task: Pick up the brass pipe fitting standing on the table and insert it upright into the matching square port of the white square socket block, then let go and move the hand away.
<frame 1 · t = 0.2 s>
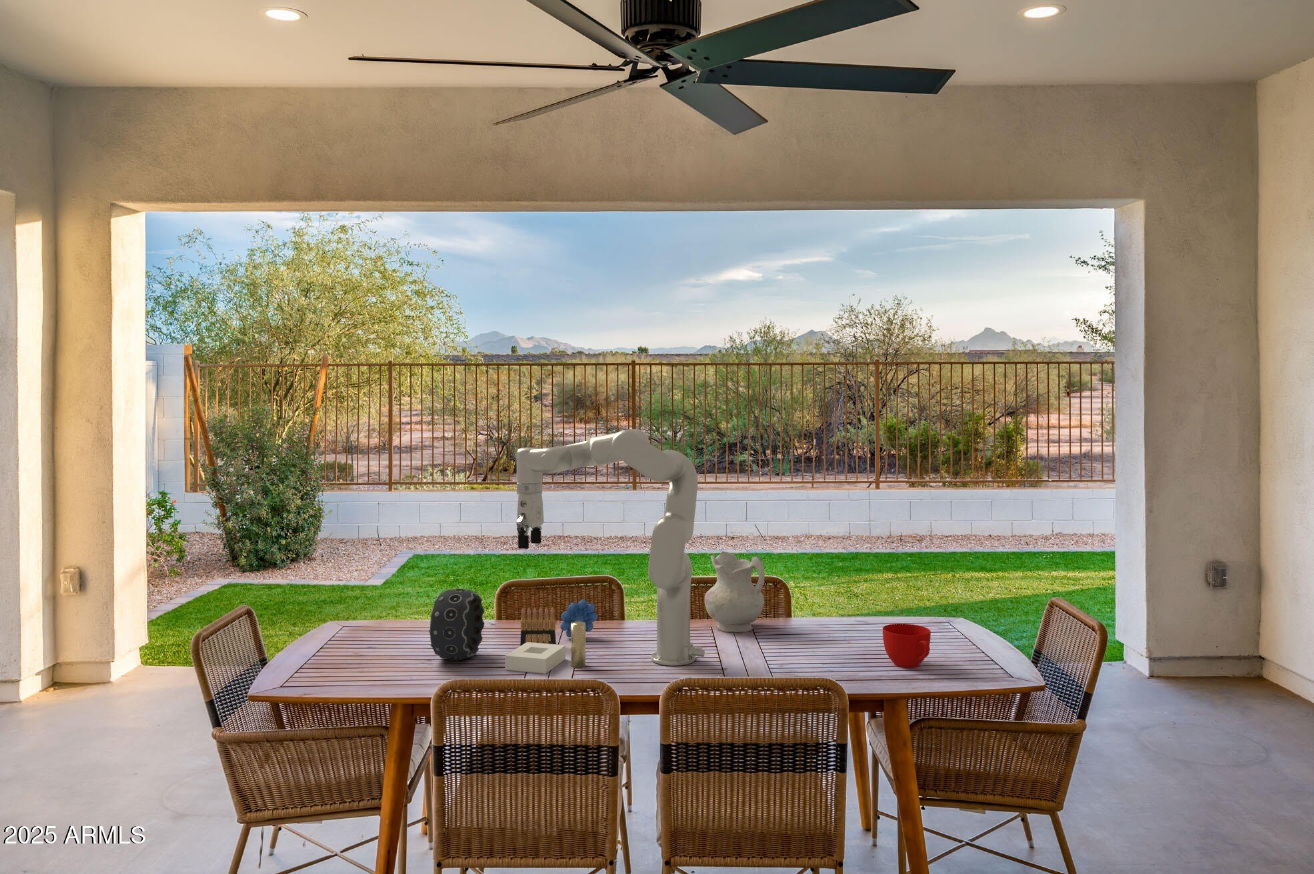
hand: (529, 546, 256), 31 cm above the table, fingers open, 9 cm apart
dark grey toy tire: (458, 659, 246), on the table
ammunition clip: (538, 647, 259), on the table
ceramic pitcher: (737, 629, 279), on the table
ceramic cup: (910, 667, 238), on the table
brass fitting: (578, 665, 239), on the table
grapes: (578, 637, 269), on the table
white square socket block: (536, 664, 240), on the table
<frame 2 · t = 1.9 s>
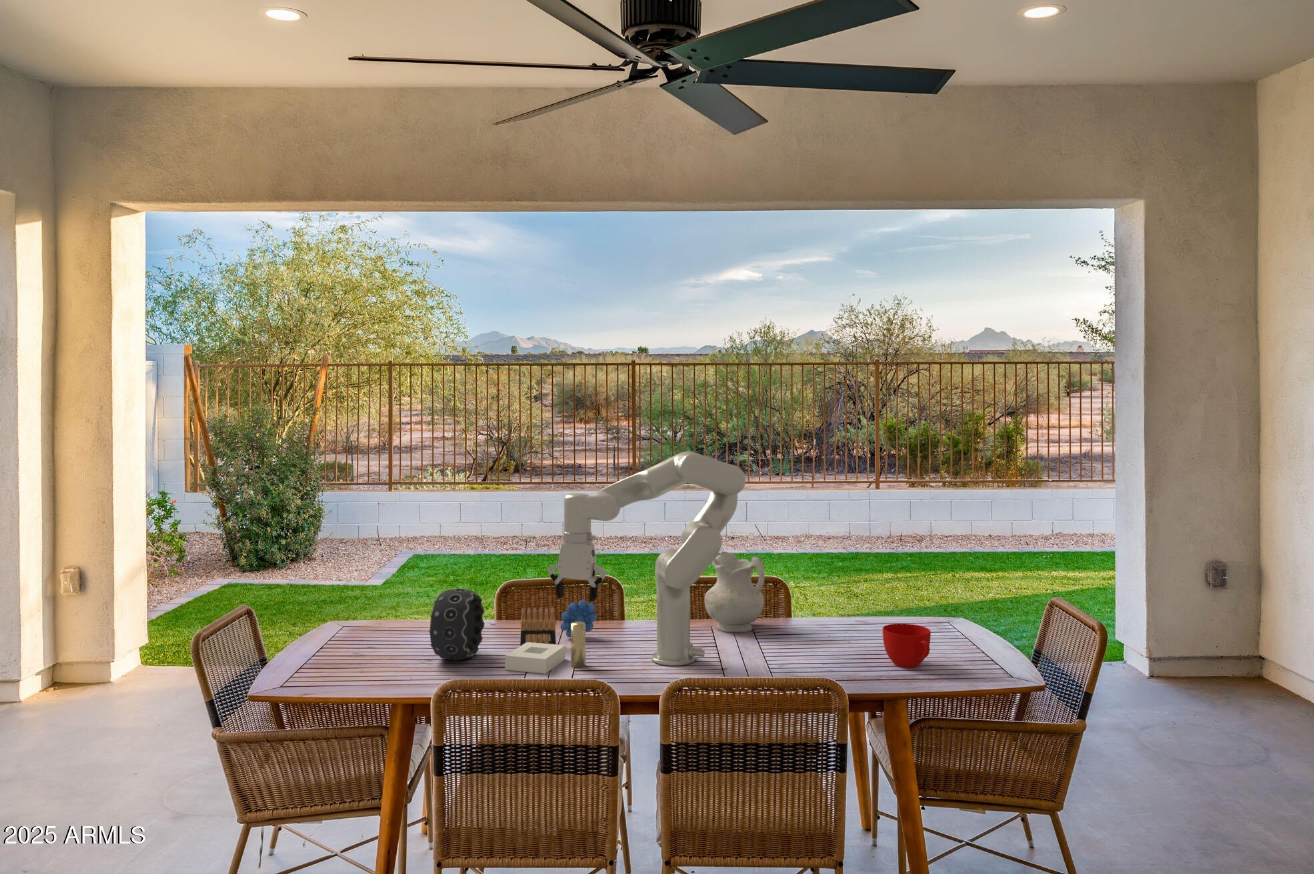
hand: (576, 599, 238), 19 cm above the table, fingers open, 9 cm apart
nothing on the table moved.
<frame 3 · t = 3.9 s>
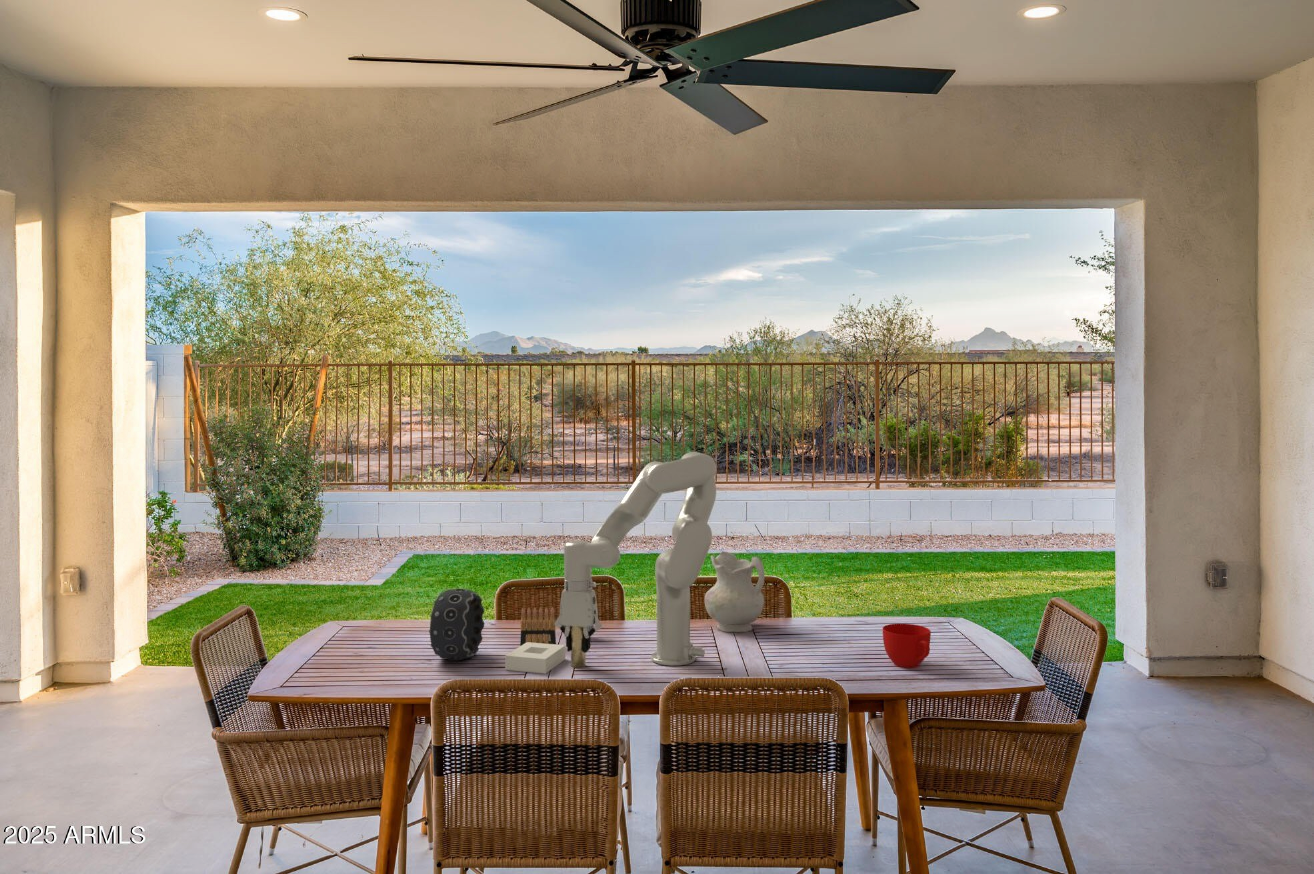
hand: (578, 649, 239), 5 cm above the table, fingers closed on brass fitting, 4 cm apart
brass fitting: (578, 665, 239), on the table, touching gripper
everything else where it was.
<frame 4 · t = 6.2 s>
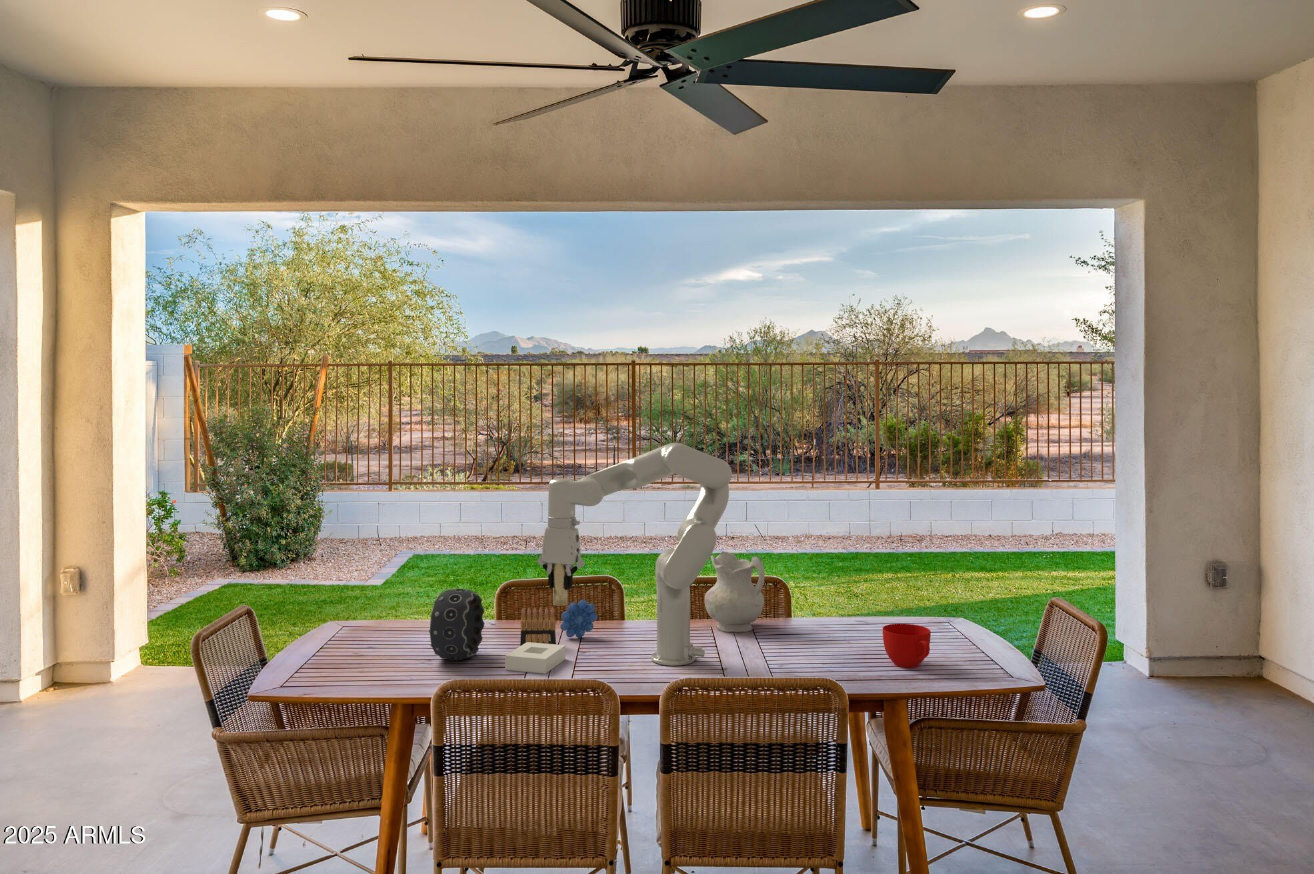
hand: (560, 587, 239), 22 cm above the table, fingers closed on brass fitting, 4 cm apart
brass fitting: (560, 603, 239), point 17 cm above the table, touching gripper
everything else where it was.
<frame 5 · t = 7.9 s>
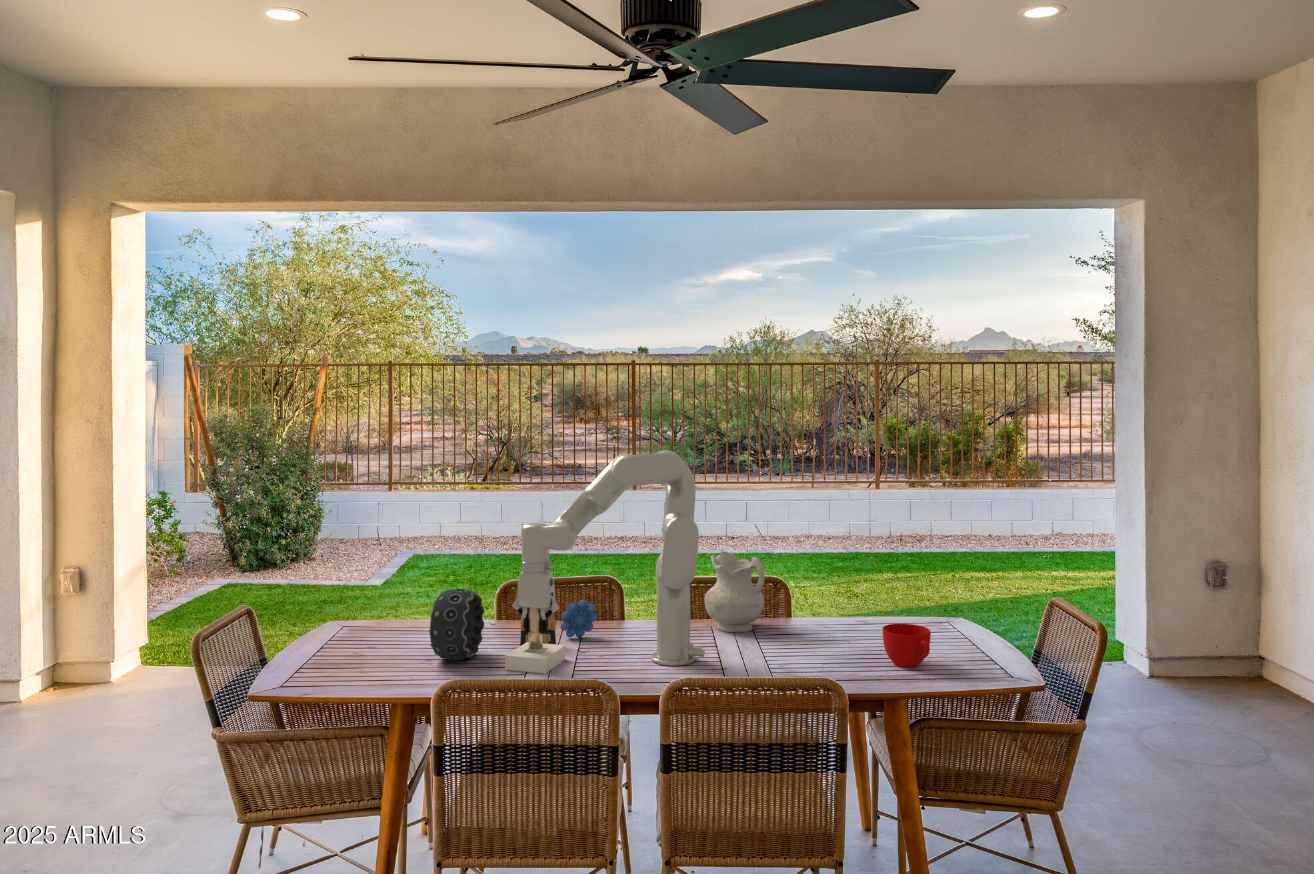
hand: (535, 631, 240), 9 cm above the table, fingers closed on brass fitting, 4 cm apart
brass fitting: (535, 647, 240), point 5 cm above the table, touching gripper
everything else where it was.
when the fingers open (6 cm above the table, at t = 8.9 s): brass fitting drops 1 cm, resting in white square socket block.
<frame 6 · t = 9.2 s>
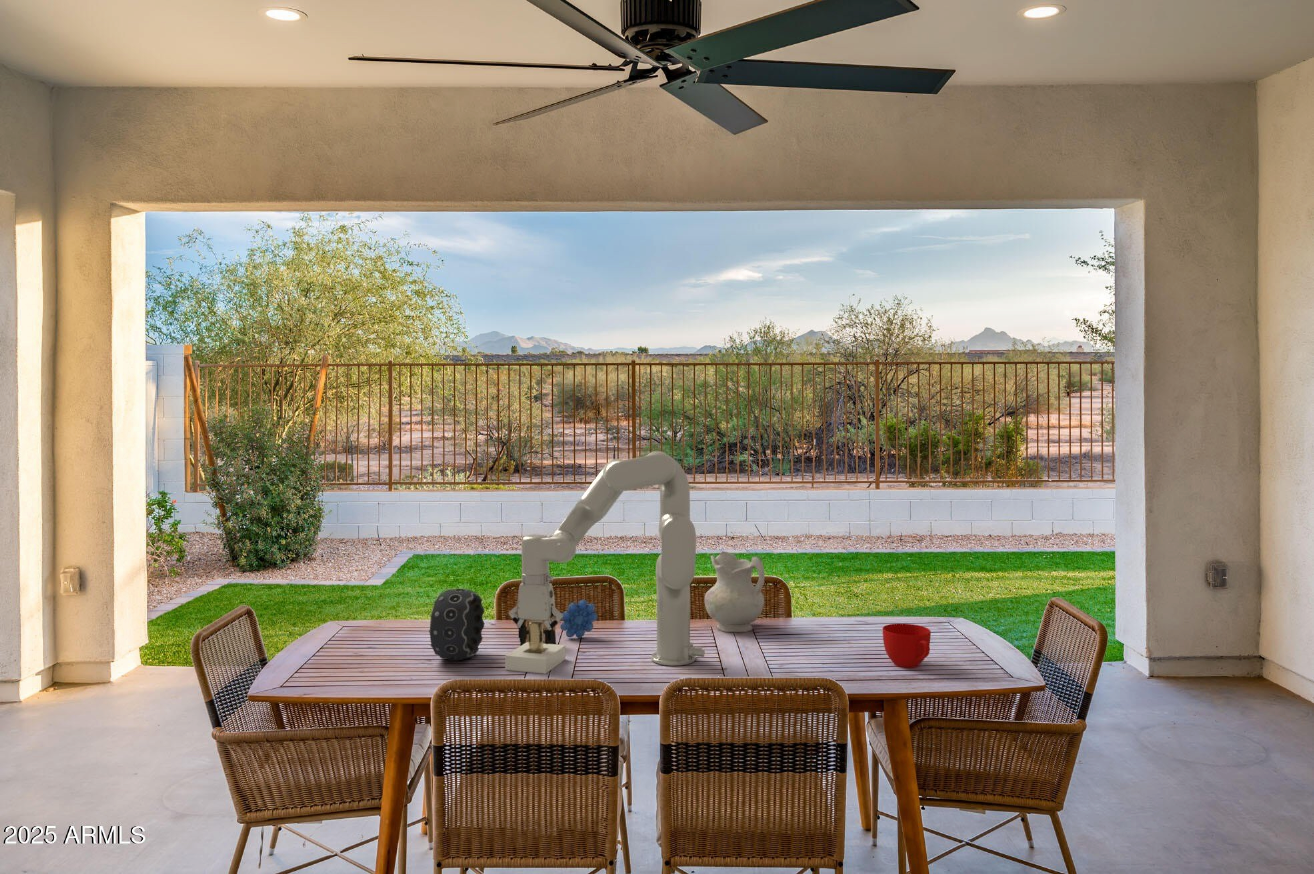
hand: (535, 641, 240), 7 cm above the table, fingers open, 7 cm apart
brass fitting: (536, 664, 240), resting in white square socket block
everything else where it was.
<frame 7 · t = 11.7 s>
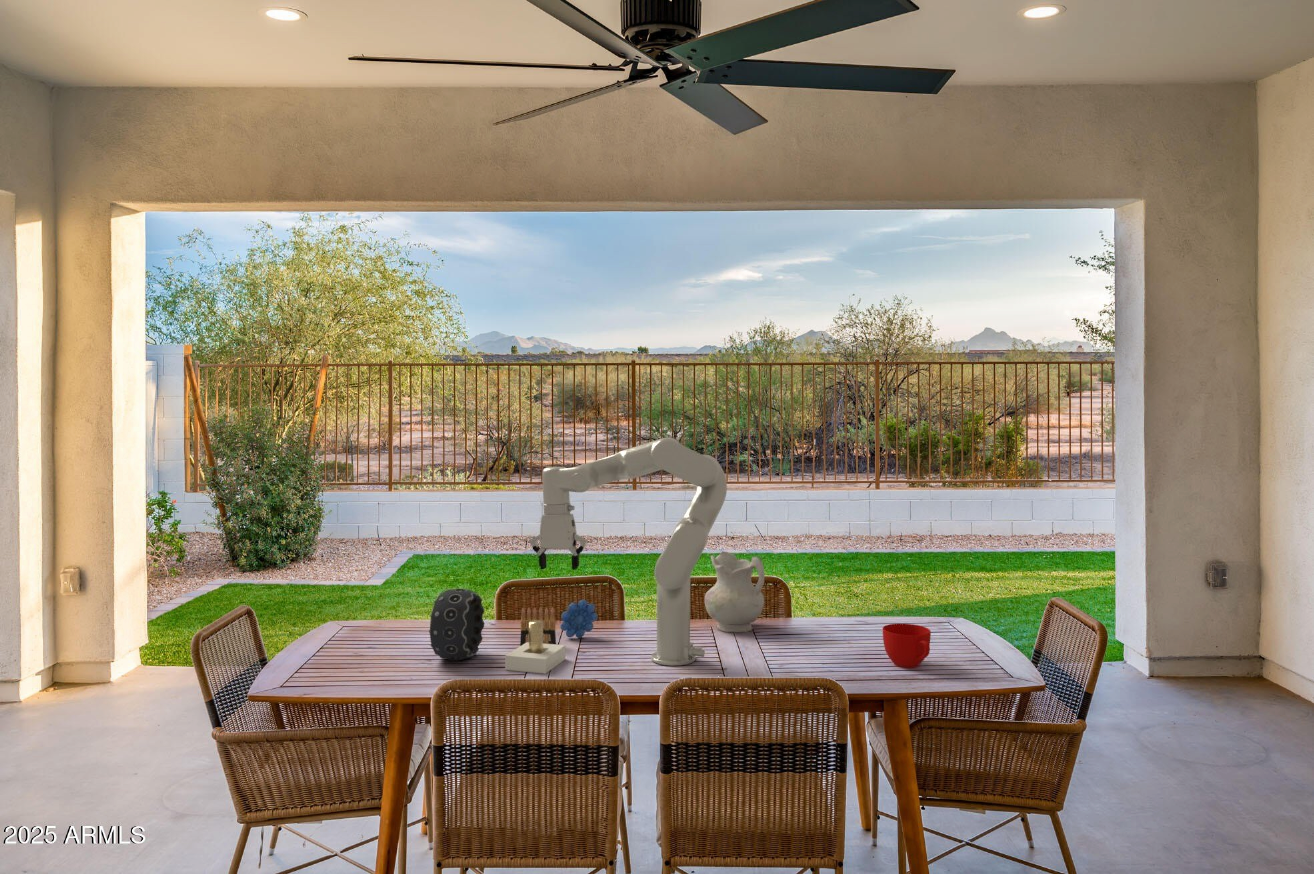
hand: (559, 568, 246), 26 cm above the table, fingers open, 9 cm apart
nothing on the table moved.
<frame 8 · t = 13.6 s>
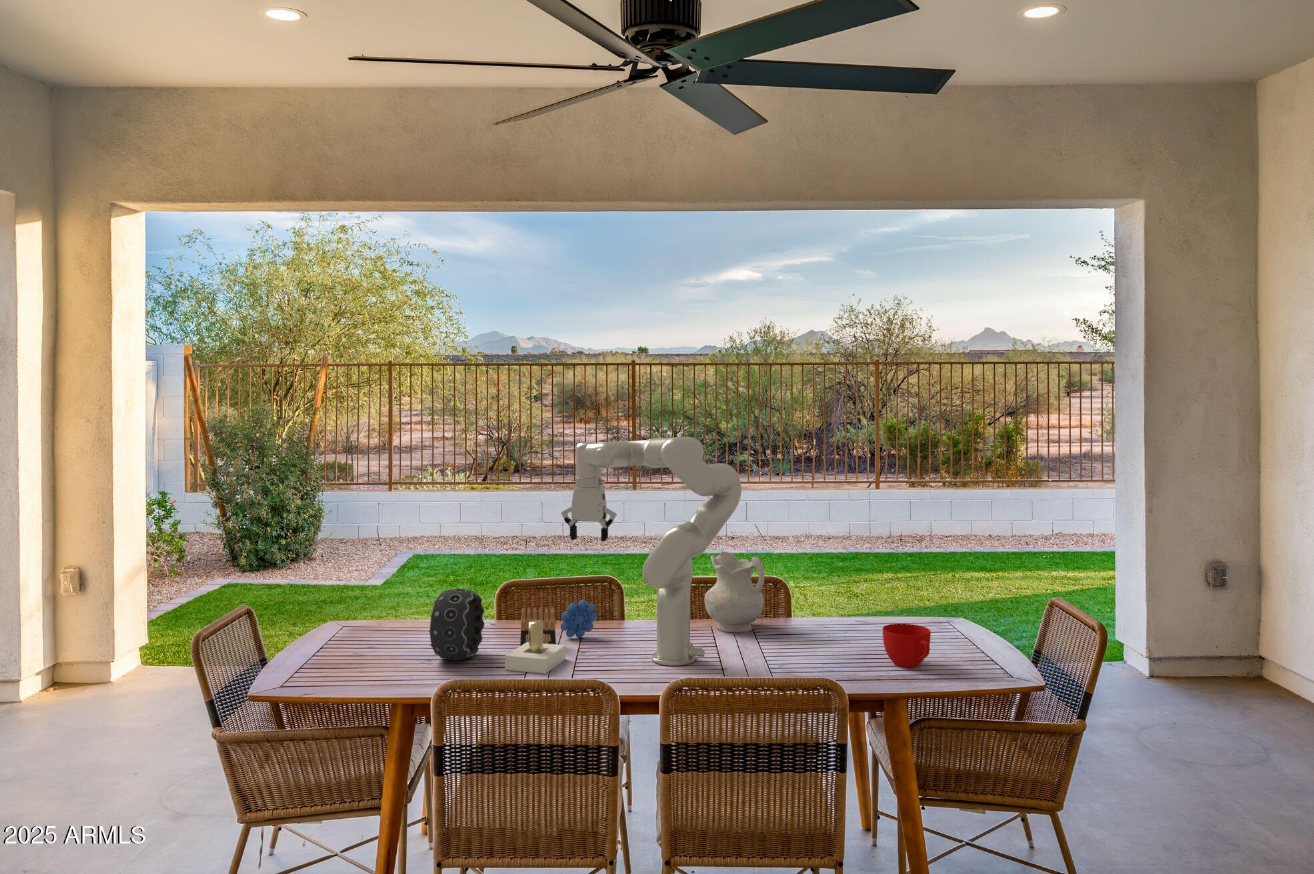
hand: (588, 540, 257), 32 cm above the table, fingers open, 9 cm apart
nothing on the table moved.
at the end: brass fitting 0.1 cm off-centre on the white square socket block, point 0.0 cm above the white square socket block's base; brass fitting tilted 0°; the gripper is holding nothing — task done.
